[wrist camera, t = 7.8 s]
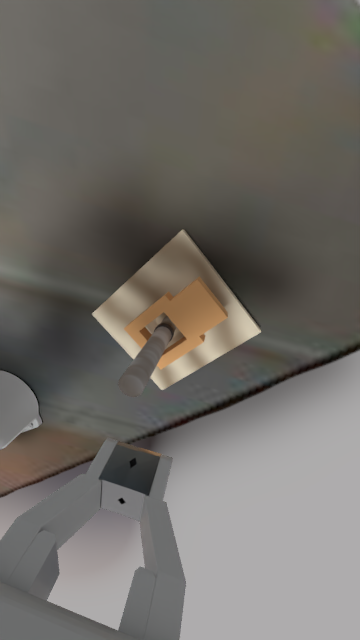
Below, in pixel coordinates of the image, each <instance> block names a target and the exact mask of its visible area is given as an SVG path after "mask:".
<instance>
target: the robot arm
mask: <svg viewBox="0 0 360 640" xmlns="http://www.w3.org/2000/svg"><path fill="white" fill-rule="evenodd" d="M38 410H39V407H38V402H37V399H36V397H35V395H34V393H33V392H32V390H31V389H30V388H29V387H28V386H27V385H26V384H25V383H24V382H23V381H22V380H21V379H19V378H18V377H16V376H14V375H13V374H10V373H8V372H5V371H0V450H1V449H3V448H5V447H6V446H8V445H9V443H10V442H11V441H13V440H14V439H15V438H16V437H17V436H18V435H19V434H20V433H22V432H25V431H28V430H31V429H34V428H37V427H38V426H40V425H41V424H42V420H41V418H40V415H39V411H38ZM171 464H172V457H168V456H165V455H161V454H159V453H156V452H153V451H149V450H146V449H143V448H138V447H135V446H132V445H129V444H126V443H123V442H120V441H117V440H114V439H111V438H107V439H106V440H105V442H104V443H103V445H102V447H101V448H100V450H99V452H98V454H97V455H96V457H95V459H94V460H93V462H92V464H91V466H90V467H89V469H88V471H87V473H86V474H81V475H79V476H78V477H76V478H75V479H73V480H72V481H70V482H69V483H67V484H66V485H65V486H63V487H62V488H60V489H59V490H57V491H56V492H54V493H53V494H51V495H50V496H48V497H47V498H45V499H44V500H42V501H41V502H40V503H38V504H37V505H35V506H34V507H32V508H31V509H29V510H28V511H26V512H25V513H23V514H22V515H20V516H19V517H17V519H16V520H15V521H14V523H13V524H12V525H11V527H10V528H9V529H8V531H7V532H6V533H5V535H4V536H3V537H2V539H1V540H0V640H179V638H180V629H181V621H182V612H183V603H184V595H185V587H186V581H185V577H184V573H183V568H182V564H181V560H180V557H179V552H178V548H177V544H176V540H175V536H174V532H173V528H172V524H171V520H170V516H169V512H168V508H167V504H166V502H164V501H163V497H164V494H165V489H166V485H167V481H168V476H169V473H170V468H171ZM100 508H102V509H106V510H109V511H112V512H115V513H118V514H121V515H124V516H127V517H129V518H132V519H134V520H137V521H139V522H140V528H141V538H142V546H143V555H144V563H145V568H143V567H139V568H138V569H137V570H136V571H135V573H134V577H133V580H132V584H131V587H130V591H129V595H128V598H127V602H126V606H125V609H124V612H123V616H122V619H121V623H120V627H119V630H118V631H117V630H115V629H112V628H110V627H108V626H106V625H103V624H101V623H98V622H96V621H94V620H91V619H89V618H86V617H84V616H82V615H79V614H77V613H74V612H72V611H70V610H67V609H65V608H62V607H60V606H57V605H55V604H53V603H50V602H48V601H47V599H48V597H49V595H50V592H51V590H52V588H53V586H54V584H55V582H56V580H57V578H58V576H59V564H58V554H57V550H58V549H59V548H60V547H61V546H62V545H63V544H64V543H65V542H66V541H67V540H68V539H69V538H70V537H72V536H73V535H74V534H75V533H76V532H77V531H78V530H79V529H80V528H81V527H82V526H83V525H84V524H85V523H86V522H87V521H88V520H90V519H91V518H92V517H93V516H94V515H95V514H96V513H97V512H98V511H99V510H100Z"/></svg>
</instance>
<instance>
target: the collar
mask: <svg viewBox="0 0 360 640" xmlns="http://www.w3.org/2000/svg"><path fill="white" fill-rule="evenodd" d="M163 312H164V313H165V314H166V315H167V316H168V317H169V319H170V320H171V321H172V322H173V323H174V324H175V326H176V327H177V328H178V329H179V330H180V332H181V333H182V334H183V335H184V337H183V338H181V339H180V340H179V341H177V342H176V343H174V344H173V345H171V346H170V347H168V348H167V349H165V351H164V352H163V354H162V356H161V358H160V360H159V362H158V364H157V366H158V367H159V368H160V370H161V369H163V368H164V367H166V366H167V365H169V364H171V363H172V362H174V361H175V360H177V359H178V358H180V357H182V356H183V355H185V354H186V353H188V352H189V351H191V350H192V349H194V348H196V347H197V346H199V345H200V344H202V343H203V342H204V340H205V335H204V333H205V332H207V331H208V330H210V329H211V328H213V327H214V326H216V325H217V324H219V323H220V322H222V321H224V320H225V319H227V318H228V312H227V311H226V309H225V308H224V307H223V306H222V304H221V303H220V302H219V301H218V299H217V298H216V297H215V296H214V294H213V293H212V292H211V290H210V289H209V288H208V287H207V285H206V284H205V283H204V282H203V280H202V279H201V278H200V276H199V277H198V278H197V279H196V280H194V281H193V282H192V283H191V284H189V285H188V286H187V287H186V288H184V289H183V290H182V291H180V292H179V293H178V294H177V295H175V296H174V297H173V296H172V295H171V293H170V292H169V291H168V292H167V293H166V294H165V295H164V296H162V297H161V298H160V299H159V300H157V301H156V302H155V303H154V304H153V305H151V306H150V307H149V308H148V309H146V310H145V311H144V312H143V313H142V314H140V315H139V316H138V317H137V318H135V319H134V320H133V321H132V322H130V323H129V324H128V325H127V326H126V327H125V328H124V330H125V331H126V332H127V333H128V334H129V335H130V336H131V338H132V339H133V340H134V341H135V342H136V343H137V344H138V345H139V346H140V347H141V349H142V348H143V346H144V345H145V344H146V342H147V341H148V340H149V338H150V337H151V336H152V334H151V333H150V332H149V331H148V330H147V329H146V327H145V326H147V325H148V324H149V323H150V322H152V321H153V320H154V319H156V318H157V317H158V316H159V315H161V314H162V313H163Z"/></svg>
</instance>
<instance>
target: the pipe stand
mask: <svg viewBox="0 0 360 640" xmlns="http://www.w3.org/2000/svg"><path fill="white" fill-rule="evenodd" d="M199 276H200V278H201V279H202V280H203V282H204V283H205V284H206V285H207V287H208V288H209V289H210V290H211V292H212V293H213V294H214V296H215V297H216V298H217V299H218V301H219V302H220V303H221V304H222V306H223V307H224V308H225V309H226V311H227V312H228V318H227V319H225V320H224V321H222V322H220V323H219V324H217V325H216V326H214V327H213V328H211V329H210V330H208V331H207V332H205V333H204V335H205V340H204V342H203V343H202V344H200V345H199V346H197V347H196V348H194V349H192V350H191V351H189V352H188V353H186V354H185V355H183V356H182V357H180V358H178V359H177V360H175V361H174V362H172V363H171V364H169V365H167V366H166V367H164V368H163V369H161V370H160V368H159V367H158V366H157V364H158V362H159V360H160V358H161V356H162V354H163V352H164V351H165V349H167V348H168V347H170V346H171V345H173V344H174V343H176V342H177V341H179V340H180V339H181V338H183V337H184V335H183V334H182V333H181V332H180V330H179V329H178V328H177V327H176V326H175V324H174V323H173V322H172V321H171V320H170V319H169V317H168V316H167V315H166V314H165V313H164V312H163V313H162V314H161V315H159V316H158V317H157V318H156V319H154V320H153V321H152V322H150V323H149V324H148V325H147V326H145V327H146V329H147V330H148V331H149V332H150V333H151V334H152V336H151V337H150V338H149V340H148V341H147V342H146V344H145V345H144V346H143V348H142V349H141V347H140V346H139V345H138V344H137V343H136V342H135V341H134V340H133V339H132V338H131V336H130V335H129V334H128V333H127V332H126V331H125V330H124V328H125V327H126V326H127V325H128V324H129V323H130V322H132V321H133V320H134V319H135V318H137V317H138V316H139V315H140V314H142V313H143V312H144V311H145V310H146V309H148V308H149V307H150V306H151V305H153V304H154V303H155V302H156V301H157V300H159V299H160V298H161V297H162V296H164V295H165V294H166V293H167V292H168V291H169V292H170V293H171V295H172V296H173V297H174V296H175V295H177V294H178V293H179V292H180V291H182V290H183V289H184V288H186V287H187V286H188V285H189V284H191V283H192V282H193V281H194V280H196V279H197V278H198V277H199ZM92 315H93V316H94V317H95V318H96V319H97V320H98V322H99V323H100V324H101V325H102V326H103V327H104V328H105V329H106V330H107V331H108V332H109V333H110V335H111V336H112V337H113V338H114V339H115V340H116V341H117V342H118V343H119V344H120V345H121V346H122V348H123V349H124V350H125V351H126V352H127V353H128V354H129V355H130V356H131V357H132V358H133V359H134V360H133V362H132V363H131V364H130V366H129V367H128V368H127V370H126V371H125V372H124V374H123V375H122V377H121V378H120V379H119V382H118V386H119V388H120V390H121V391H122V392H123V393H124V394H125V395H127V396H130V397H137V396H140V395H141V394H142V392H143V390H144V388H145V386H146V385H147V383H148V381H149V379H150V378H151V379H152V380H153V381H154V382H155V383H156V384H157V385H158V386H159V388H160V389H161V390H164V389H165V388H167V387H169V386H170V385H172V384H174V383H175V382H177V381H179V380H181V379H182V378H184V377H186V376H187V375H189V374H191V373H192V372H194V371H196V370H197V369H199V368H201V367H203V366H204V365H206V364H208V363H209V362H211V361H213V360H214V359H216V358H218V357H220V356H221V355H223V354H225V353H226V352H228V351H230V350H231V349H233V348H235V347H237V346H238V345H240V344H242V343H243V342H245V341H247V340H248V339H250V338H252V337H253V336H255V335H257V334H259V333H260V332H261V330H260V327H259V326H258V325H257V324H256V322H255V321H254V320H253V318H252V317H251V316H250V314H249V313H248V312H247V310H246V309H245V308H244V307H243V305H242V304H241V303H240V301H239V300H238V299H237V297H236V296H235V295H234V294H233V292H232V291H231V290H230V288H229V287H228V286H227V284H226V283H225V282H224V280H223V279H222V278H221V277H220V275H219V274H218V273H217V271H216V270H215V269H214V267H213V266H212V265H211V264H210V262H209V261H208V260H207V258H206V257H205V256H204V254H203V253H202V252H201V250H200V249H199V248H198V247H197V245H196V244H195V243H194V241H193V240H192V239H191V237H190V236H189V235H188V234H187V232H186V231H185V230H183V229H182V230H181V231H180V232H179V233H178V234H177V235H176V236H175V237H174V238H173V239H172V240H171V241H170V242H168V243H167V244H166V245H165V246H164V247H163V248H162V249H161V250H160V251H159V252H158V253H157V254H156V255H154V256H153V257H152V258H151V259H150V260H149V261H148V262H147V263H146V264H145V265H144V266H143V267H142V268H141V269H139V270H138V271H137V272H136V273H135V274H134V275H133V276H132V277H131V278H130V279H129V280H128V281H127V282H126V283H124V284H123V285H122V286H121V287H120V288H119V289H118V290H117V291H116V292H115V293H114V294H113V295H112V296H111V297H109V298H108V299H107V300H106V301H105V302H104V303H103V304H102V305H101V306H100V307H99V308H98V309H97V310H95V311H94V312H93V313H92Z"/></svg>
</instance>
